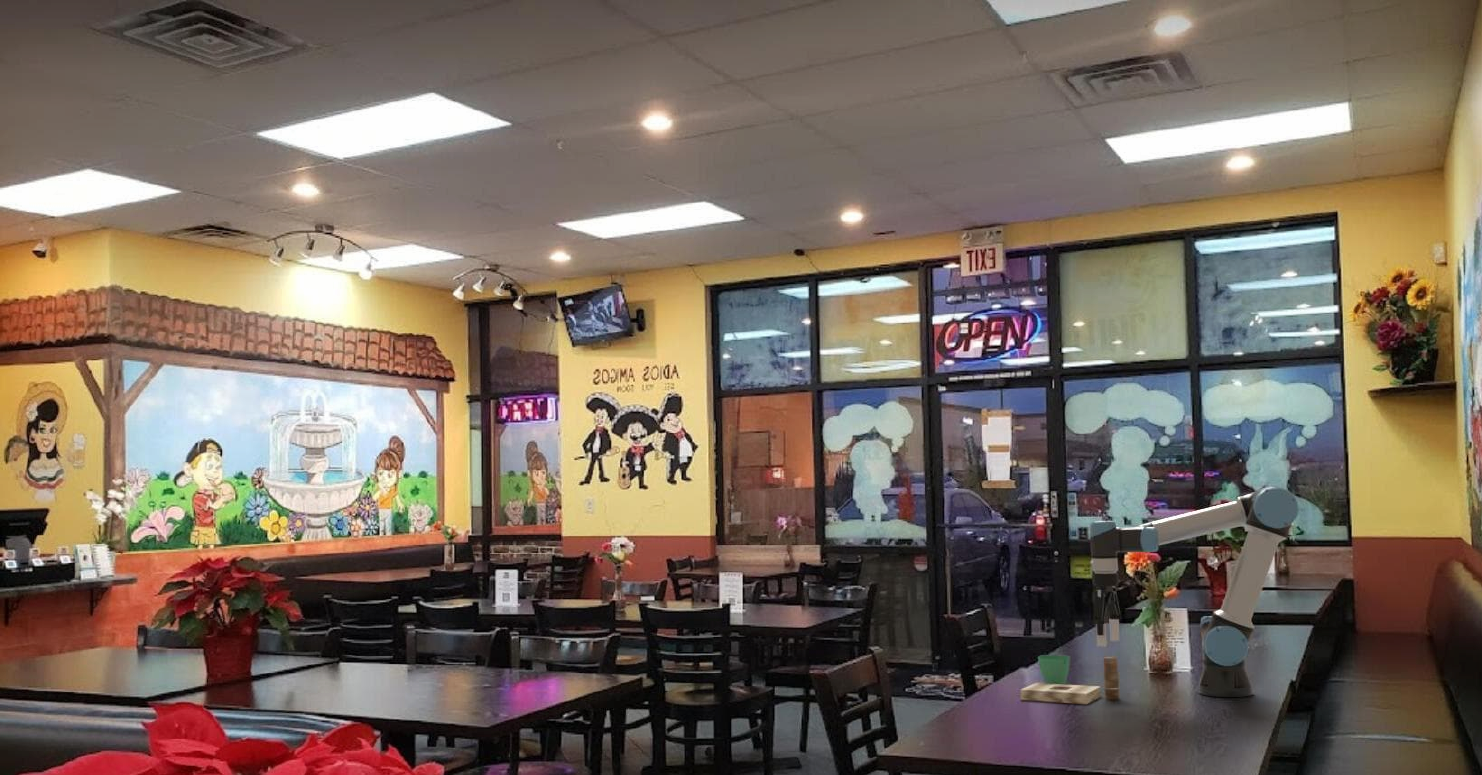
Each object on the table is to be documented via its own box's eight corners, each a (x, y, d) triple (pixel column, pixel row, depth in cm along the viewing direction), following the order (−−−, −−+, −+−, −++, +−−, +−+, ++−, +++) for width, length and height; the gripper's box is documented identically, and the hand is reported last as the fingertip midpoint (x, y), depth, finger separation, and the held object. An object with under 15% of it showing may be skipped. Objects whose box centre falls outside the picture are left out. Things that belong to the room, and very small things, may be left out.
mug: (1066, 692, 372) (1065, 659, 373) (1035, 690, 377) (1034, 658, 378) (1079, 684, 385) (1077, 653, 386) (1049, 683, 390) (1047, 652, 391)
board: (1101, 696, 362) (1100, 686, 363) (1087, 704, 351) (1086, 693, 351) (1036, 692, 373) (1036, 682, 374) (1021, 699, 362) (1020, 689, 362)
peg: (1121, 697, 359) (1119, 657, 360) (1117, 700, 356) (1115, 659, 357) (1107, 696, 362) (1105, 656, 363) (1103, 699, 358) (1101, 658, 359)
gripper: (1104, 569, 374) (1108, 638, 373) (1079, 574, 354) (1083, 647, 352) (1128, 569, 370) (1132, 639, 369) (1105, 575, 350) (1109, 649, 348)
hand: (1108, 643), depth 360 cm, fingers open, 13 cm apart
